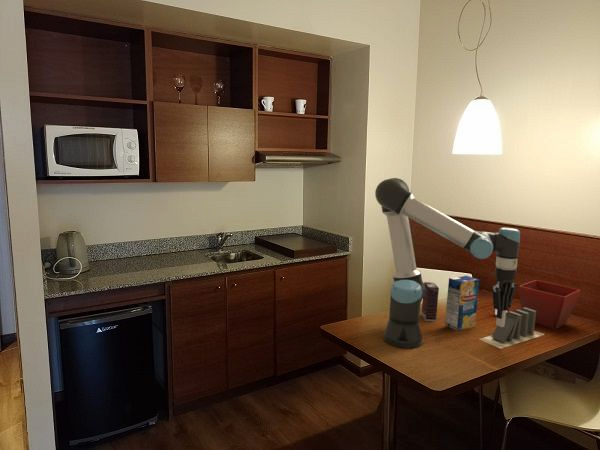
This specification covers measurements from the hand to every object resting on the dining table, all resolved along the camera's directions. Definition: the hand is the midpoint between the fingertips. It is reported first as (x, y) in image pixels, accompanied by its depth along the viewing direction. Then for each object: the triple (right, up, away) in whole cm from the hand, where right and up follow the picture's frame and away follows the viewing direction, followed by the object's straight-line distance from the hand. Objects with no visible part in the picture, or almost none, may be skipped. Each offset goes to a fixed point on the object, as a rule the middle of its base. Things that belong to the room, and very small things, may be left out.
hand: (500, 325), depth 174 cm
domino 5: (+16, -5, +11) cm, 20 cm away
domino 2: (+4, -6, +3) cm, 8 cm away
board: (+8, -7, +6) cm, 12 cm away
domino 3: (+8, -6, +6) cm, 11 cm away
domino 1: (-1, -6, +1) cm, 6 cm away
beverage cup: (+15, -3, +32) cm, 36 cm away
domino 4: (+12, -6, +9) cm, 16 cm away
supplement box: (-21, -3, +27) cm, 34 cm away
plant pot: (+32, -5, +26) cm, 41 cm away
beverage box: (-10, -5, +16) cm, 20 cm away
